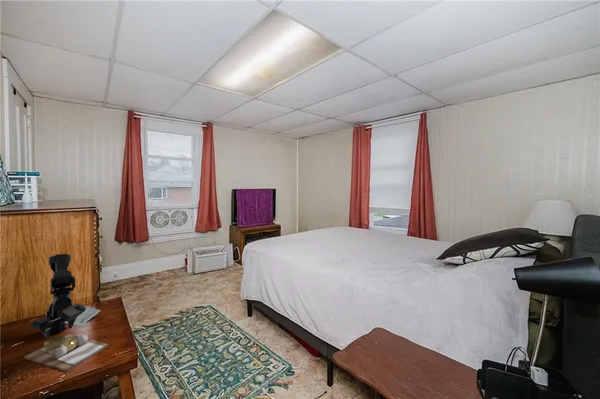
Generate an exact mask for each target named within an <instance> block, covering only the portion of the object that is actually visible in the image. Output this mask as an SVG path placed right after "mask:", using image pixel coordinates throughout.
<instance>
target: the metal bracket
mask: <svg viewBox="0 0 600 399" xmlns="http://www.w3.org/2000/svg"><path fill="white" fill-rule="evenodd" d="M101 311H102V310H101V309H97V308H95V306H93V307H92V308H91V307H87V306H85V311H84V312H83V313H82V314H80V315H79V316H78V317H77V318H76V320H75V322H74V324H73V326H74V327H75V326H76V327H78V328H82V329H83V328H85V327H86V326H87V325H88V324H89V321H90V320H91V319H92V318H93V317H95V316H96V315H98V314H99V313H100V312H101ZM65 325H68V322H66V321H65Z"/></svg>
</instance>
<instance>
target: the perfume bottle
mask: <svg viewBox="0 0 600 399" xmlns="http://www.w3.org/2000/svg"><path fill="white" fill-rule="evenodd" d="M64 336H65V335H61V334H60V335H57V336H55V337H52V338H49V339H48V340H46V341H45V342H43V347H44V349H47V350H50V351H54V350H55V349H57V348H59V347H61V346H63V345H64V346H66V347H67V349H68V352H69V351H71V350H73V349H75V348H76V347H78V341H77V340H76V339H71V338H68V337H64Z"/></svg>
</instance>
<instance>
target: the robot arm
mask: <svg viewBox="0 0 600 399" xmlns="http://www.w3.org/2000/svg"><path fill="white" fill-rule="evenodd" d="M71 262H72V255H71V254H68V253H59V254H54V255H51V256H49V257H48V266H49V269H50V271H52V272H53V275H52V278H51V279H50V295H52V302H51V304H50V305H49V306H48V307H47V308H48V309H47V310H46V313H45V317H41V318H39V319H36V320H34V321H32V322H31V324H30V325H31V326H30V328H31V329H34V330H37V331H40V332H41V333H42V335H43V337H44V338H45V339H46V341H48V340H50V335H53V336H55V335H57V334H59V333H61V332H64V331H66V330H68V329H72V328H73V326H74V325H73V324H74V322H75V320H76V318H77V317H78V316H79V315H80V314H82V313H83V312H84V311H85V307H86V306H85V305H83V304H79V303H75V304H72V303H73V300H72V297H71V292H74V291H75V290H74V289H75V288H76V277H75V276H74V275H73V274H72V271H70V270H68V267H69V264H70V263H71ZM65 321H66V322H68V324H67V326H68V327H67V326H66V324H65Z"/></svg>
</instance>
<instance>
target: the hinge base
mask: <svg viewBox="0 0 600 399" xmlns="http://www.w3.org/2000/svg"><path fill="white" fill-rule="evenodd" d="M63 336H64V337H68V338H71V339H76V340H77V341H78V347H76V348H75V349H73V350H71V351H69V352H68V349H67V347H66V346H64V345H63V346H61V347H59V348H57V349H55V350H54V351H50V350H47V349H44V346H42V347H40V348H39V349H36V350H34V351H32V352H31V353H29V354H27V355H24V358H23V359H25V360H26V361H27V360H28V361H30V362H34V363H37V364H40V365H43V366H46V367H50V368H53V369H56V370H60V371H62V370H63V372H69V371H71V370H73V369H74V368H76V367H78V366H79V365H81V364H82V363H85V361H87V360H88V359H90V358H92V357H93V356H95V355H97V354H98V353H99V352H101V351H102V350H103V351H104V350H105V349H106V348H107V347H109V344H108V343H105V342H101V341H98V340H95V339H89V337H88V335H87V334H82V335H75V334H72V333H69V334H66V335H63Z"/></svg>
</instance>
